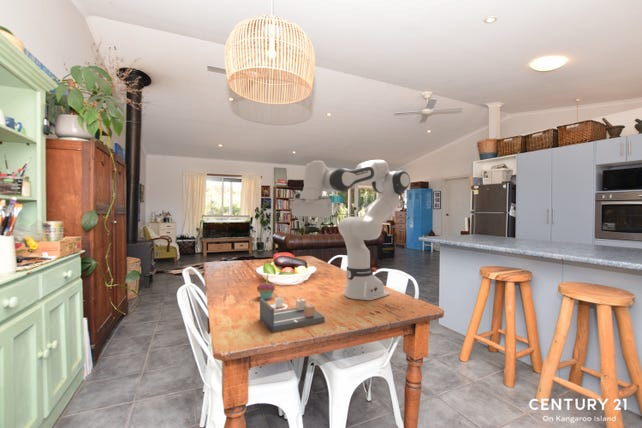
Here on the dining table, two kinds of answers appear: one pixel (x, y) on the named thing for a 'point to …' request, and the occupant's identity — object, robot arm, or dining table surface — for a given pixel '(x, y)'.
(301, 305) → the cream fader knob
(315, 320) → the console
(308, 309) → the terracotta fader knob
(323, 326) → the dining table surface
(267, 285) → the cupcake
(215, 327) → the dining table surface
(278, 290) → the dining table surface
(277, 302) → the teacup and saucer
